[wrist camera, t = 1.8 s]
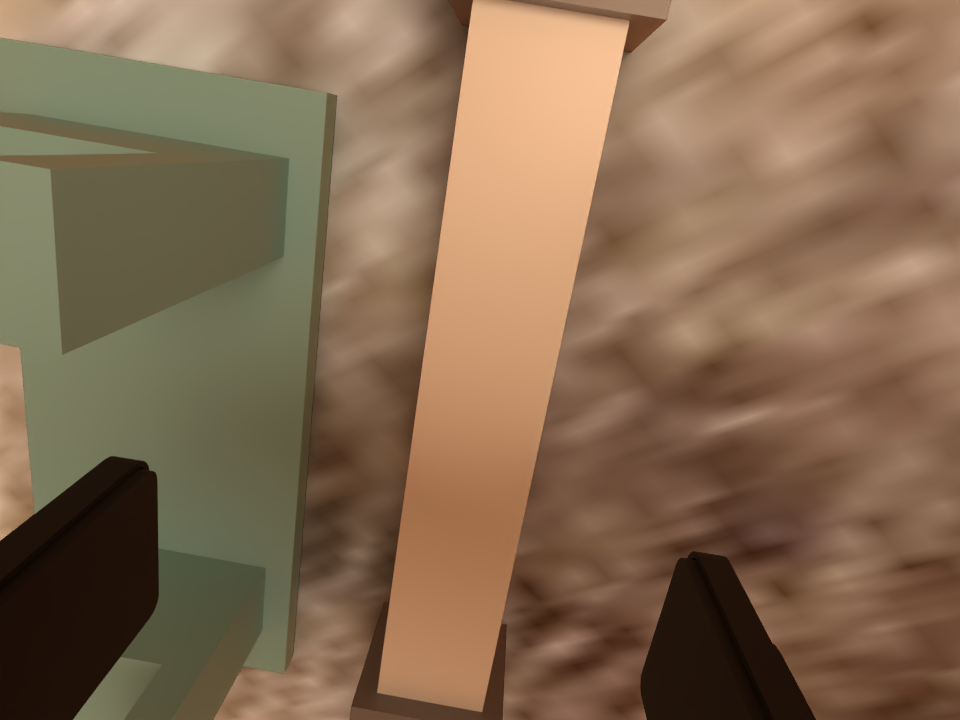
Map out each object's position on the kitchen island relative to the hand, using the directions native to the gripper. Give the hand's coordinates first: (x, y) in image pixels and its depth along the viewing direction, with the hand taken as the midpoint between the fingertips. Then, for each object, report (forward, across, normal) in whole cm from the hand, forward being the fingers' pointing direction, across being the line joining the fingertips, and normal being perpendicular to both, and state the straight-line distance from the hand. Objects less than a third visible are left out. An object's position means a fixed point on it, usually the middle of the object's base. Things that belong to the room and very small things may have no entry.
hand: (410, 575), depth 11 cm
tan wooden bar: (+11, -1, 0) cm, 11 cm away
